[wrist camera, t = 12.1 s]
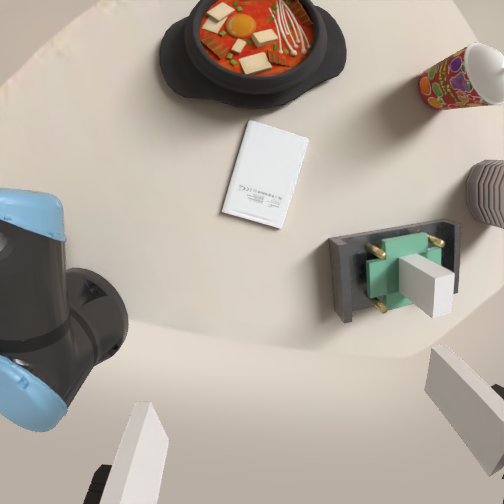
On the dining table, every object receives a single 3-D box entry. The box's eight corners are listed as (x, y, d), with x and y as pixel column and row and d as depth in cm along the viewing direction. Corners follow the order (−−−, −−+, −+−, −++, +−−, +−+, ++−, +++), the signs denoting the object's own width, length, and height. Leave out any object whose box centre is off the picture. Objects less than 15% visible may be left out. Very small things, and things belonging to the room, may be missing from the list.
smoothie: (404, 66, 37) (488, 24, 17) (443, 67, 37) (527, 36, 17) (419, 117, 39) (514, 99, 19) (457, 114, 39) (548, 101, 19)
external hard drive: (307, 140, 40) (280, 227, 42) (248, 121, 39) (221, 210, 41) (310, 138, 38) (282, 229, 41) (248, 119, 37) (221, 212, 40)
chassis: (334, 310, 45) (348, 330, 39) (328, 238, 42) (344, 249, 36) (442, 283, 45) (464, 297, 39) (443, 219, 43) (468, 226, 36)
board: (367, 311, 42) (399, 346, 32) (364, 242, 39) (401, 264, 29) (435, 293, 42) (474, 320, 32) (436, 229, 39) (481, 245, 29)
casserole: (325, -6, 33) (340, -34, 25) (354, 102, 38) (380, 88, 30) (156, 15, 33) (141, -13, 25) (172, 129, 38) (157, 118, 30)
